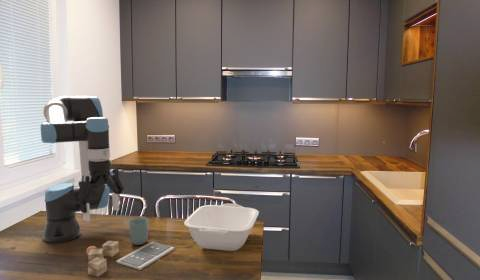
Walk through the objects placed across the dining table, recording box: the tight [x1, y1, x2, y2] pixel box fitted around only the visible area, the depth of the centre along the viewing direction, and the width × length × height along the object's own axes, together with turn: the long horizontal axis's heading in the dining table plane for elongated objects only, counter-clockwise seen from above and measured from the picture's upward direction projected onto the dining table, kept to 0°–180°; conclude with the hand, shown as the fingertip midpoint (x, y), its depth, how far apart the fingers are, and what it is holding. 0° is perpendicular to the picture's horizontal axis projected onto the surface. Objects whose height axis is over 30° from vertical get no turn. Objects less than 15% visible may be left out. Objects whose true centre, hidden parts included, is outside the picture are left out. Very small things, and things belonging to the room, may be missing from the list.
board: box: [116, 241, 175, 271], centre depth 143 cm, size 12×20×1 cm, turn 152°
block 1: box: [87, 248, 104, 262], centre depth 137 cm, size 4×4×4 cm
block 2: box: [87, 257, 108, 277], centre depth 129 cm, size 4×4×4 cm
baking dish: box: [183, 203, 260, 252], centre depth 154 cm, size 34×28×13 cm
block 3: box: [101, 240, 120, 258], centre depth 144 cm, size 4×4×4 cm
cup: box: [128, 217, 149, 246], centre depth 154 cm, size 8×8×10 cm
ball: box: [86, 245, 98, 256], centre depth 142 cm, size 4×4×4 cm
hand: (102, 215), depth 134 cm, fingers open, 13 cm apart
